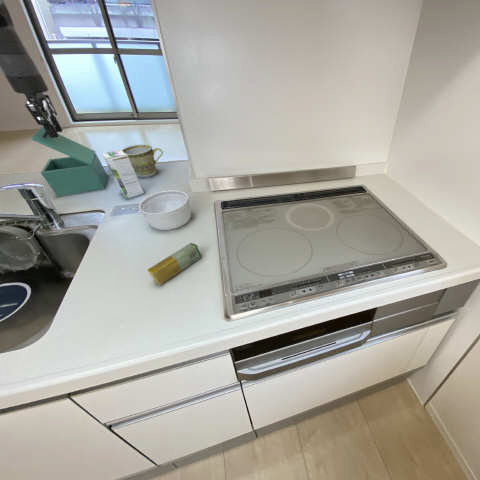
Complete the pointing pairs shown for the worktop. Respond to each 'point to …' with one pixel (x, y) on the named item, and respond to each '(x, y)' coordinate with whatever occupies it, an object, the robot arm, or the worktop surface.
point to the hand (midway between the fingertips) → (56, 134)
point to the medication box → (174, 263)
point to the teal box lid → (64, 145)
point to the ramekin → (166, 209)
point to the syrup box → (123, 173)
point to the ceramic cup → (142, 159)
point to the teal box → (74, 175)
